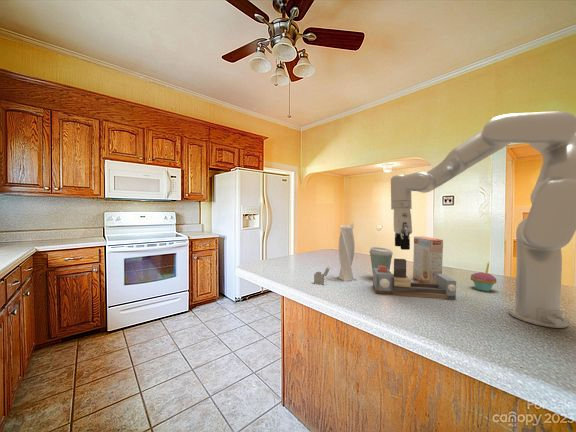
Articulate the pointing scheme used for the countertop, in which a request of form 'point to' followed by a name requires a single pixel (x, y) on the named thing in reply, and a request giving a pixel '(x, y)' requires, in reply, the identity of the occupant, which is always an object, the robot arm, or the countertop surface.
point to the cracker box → (427, 259)
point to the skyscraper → (346, 252)
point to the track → (418, 291)
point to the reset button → (382, 268)
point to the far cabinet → (383, 280)
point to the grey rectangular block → (446, 284)
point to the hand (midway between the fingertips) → (401, 247)
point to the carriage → (400, 274)
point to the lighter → (320, 276)
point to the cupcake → (483, 280)
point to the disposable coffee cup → (380, 257)
